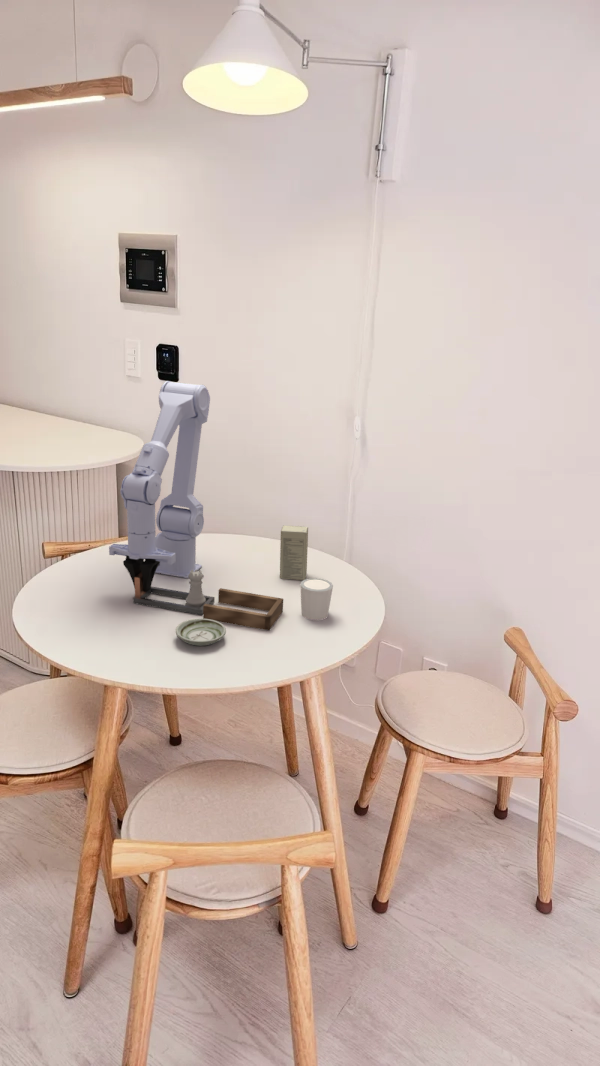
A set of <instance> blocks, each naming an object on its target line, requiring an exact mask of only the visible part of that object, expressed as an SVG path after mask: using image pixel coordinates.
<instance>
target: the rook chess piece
mask: <svg viewBox="0 0 600 1066" xmlns="http://www.w3.org/2000/svg"><path fill="white" fill-rule="evenodd" d="M188 577H189V578H188V579H189V583H188V584H189V587H190V588H189V592H188V593H189V594H188V597H187V598H186V599H185V604H184V605H187V606H193V607H199V608H200V607H201V606H202V605H203V604H204V603H205V602H206V598H205V597H204V595H205V594H203V593H204V592H203V587H202V586H203V585H202V584H203V581H202V579H203V578H204V574H203V571H202V570H201V569H199V570H198V571H197V570H195V572H193V570H191V571H190V574H189V575H188Z"/></svg>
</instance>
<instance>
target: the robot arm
mask: <svg viewBox="0 0 600 1066" xmlns="http://www.w3.org/2000/svg"><path fill="white" fill-rule="evenodd" d="M158 404H159V407H160V411H159V414H158V417H157V419H156V420H157V421H156V423H155V424H156V425H155V428H154V430H153V433H152V437H151V440H150V441H149V442H146V443H144V444H143V445H142V447H141V451H140V453H139V455H138V457H137V460H136V462H135V463H134V467H133V469H132V471H131V473H129V474H127V475H126V476H124V478H123V479H122V482H121V487H120V493H119V494H120V496H121V499H122V500H123V507H124V509H126V519H127V522H126V523H127V526H126V527H127V544H123V543H120V544H118V543H112V544H111V545H110V546H109V547H108V550H109V551H108V552H109V553H108V555H109V556H115V555H117V556H124V557H125V560H123V561H122V563H123V566H124V567H125V569H126V570H127V573H128V574H129V576H130V578H131V580H132V584H133V587H134V589H135V576H137V575H138V574H139V573H141V572H142V576H143V591H144V592H148V591H149V590H150V589H151V586H152V585H153V584H152V583H153V580H154V576H155V574H160V573H161V575H166V576H172V577H179V578H185V579H190V578H189V577H188V575H189V574H190V571H191V570H193V572H195V570H197V572H199V570H201V568H202V567H203V565H202V564H201V563H197V562H196V559H197V556H196V554H197V551H196V550H197V547H196V546H197V544H196V543H197V539H196V538H197V537H198V536H199V535H201V533H202V532H203V528H204V525H205V523H204V522H205V518H204V505H203V504H202V503H201V501H199V499H198V498H197V497H196V496H194V492H195V486H196V485H195V483H196V476H197V475H196V474H197V468H198V459H199V453H200V452H199V451H200V443H201V434H202V428H203V424H205V423H207V422H208V418H209V417H208V416H209V412H210V405H211V396H210V393H209V390H208V388H207V386H206V385H204V384H195V383H185V382H184V383H183V382H175V381H171V380H166V381H164V382H163V384H162V385H161V387H160V389H159V394H158ZM178 427H179V428H178ZM177 429H178V436H177V445H176V453H175V459H174V460H175V461H174V469H173V478H172V484H171V485H172V486H171V493H170V494H168V495H167V496H165V497H163V498H162V499H161V500H160V504H159V508H158V511H157V513H156V503H157V501H158V500H159V498H160V496H161V491H162V488H161V487H162V486H161V485H162V482H163V479H162V475H163V472H164V470H165V467H166V465H167V463H168V460H169V457H170V452H169V451H168V447H169V444H170V442H171V441H172V438H173V436H174V434H175V433H176V431H177ZM156 527H157V529H158V530H159V531H160V532H158V533H156V531H157V530H156Z"/></svg>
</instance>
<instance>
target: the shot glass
mask: <svg viewBox="0 0 600 1066" xmlns="http://www.w3.org/2000/svg"><path fill="white" fill-rule="evenodd" d="M299 587H300V608H301V609H300V610H301V616H302V617H303V618H305V619H307V620H311V621H321V620H325V619H326V617H327V618H328V616H329V609H330V606H331V601H332V600H331V598H332V594H333V587H334V585H333V583H332V582H331V581H329V580H326V579H324V578H318V577H315V578H306V579H305V580H301V582H300V583H299Z"/></svg>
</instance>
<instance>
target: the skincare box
mask: <svg viewBox="0 0 600 1066" xmlns="http://www.w3.org/2000/svg"><path fill="white" fill-rule="evenodd" d="M308 542H309V526H299V525H282V527H281V529H280V543H279V545H280V551H279V579H282V580H296V581H303V580H305V579H307V574H308V573H307V572H308V547H309V546H308V545H309V543H308Z"/></svg>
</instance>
